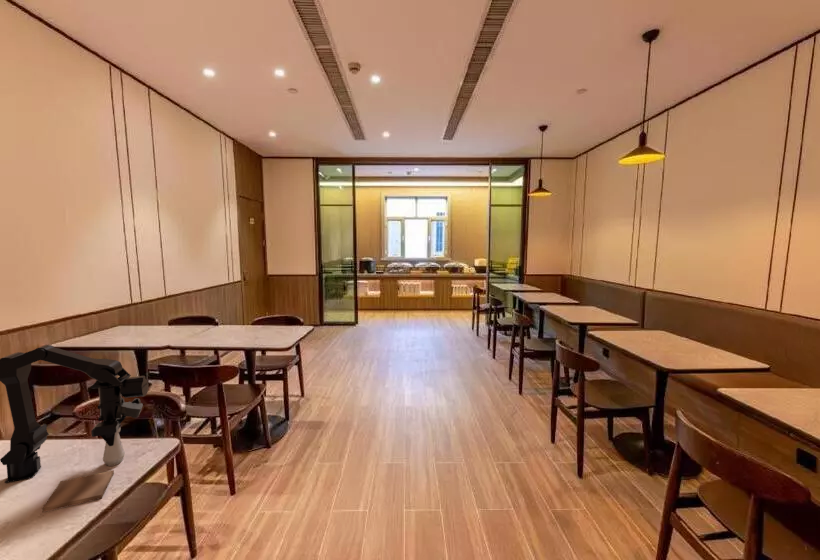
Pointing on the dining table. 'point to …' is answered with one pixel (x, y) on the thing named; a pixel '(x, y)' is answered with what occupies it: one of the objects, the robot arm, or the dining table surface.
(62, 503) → the walnut board
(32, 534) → the dining table surface
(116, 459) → the salt shaker
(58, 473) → the dining table surface
